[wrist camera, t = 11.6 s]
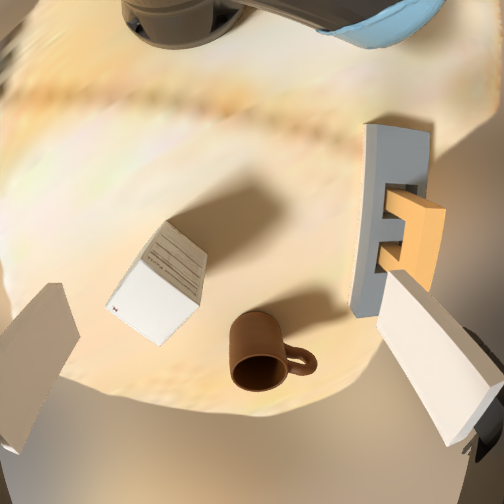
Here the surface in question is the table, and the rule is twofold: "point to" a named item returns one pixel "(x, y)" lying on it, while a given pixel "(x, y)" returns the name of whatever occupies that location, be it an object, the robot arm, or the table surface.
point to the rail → (372, 200)
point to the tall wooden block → (413, 236)
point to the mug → (263, 354)
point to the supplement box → (161, 285)
